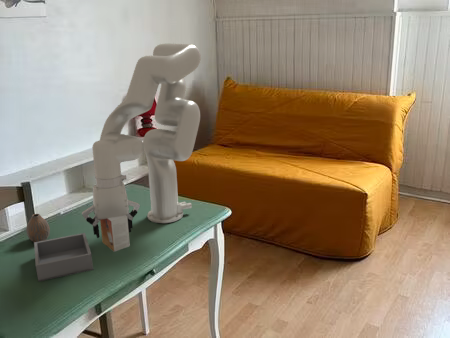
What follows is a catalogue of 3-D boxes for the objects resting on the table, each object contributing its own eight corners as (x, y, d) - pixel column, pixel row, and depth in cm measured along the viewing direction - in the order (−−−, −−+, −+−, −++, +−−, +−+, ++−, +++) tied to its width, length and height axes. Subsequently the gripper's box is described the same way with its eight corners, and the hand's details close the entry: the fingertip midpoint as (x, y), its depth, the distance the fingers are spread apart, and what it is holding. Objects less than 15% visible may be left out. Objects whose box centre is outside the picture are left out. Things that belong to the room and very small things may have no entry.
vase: (43, 245, 145) (39, 220, 142) (23, 244, 146) (19, 219, 143) (55, 235, 151) (51, 211, 148) (36, 234, 153) (32, 210, 150)
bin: (86, 247, 143) (84, 232, 142) (93, 269, 131) (91, 254, 129) (36, 257, 138) (34, 242, 136) (38, 281, 125) (35, 265, 124)
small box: (102, 243, 146) (98, 212, 142) (118, 237, 149) (115, 207, 146) (114, 252, 140) (110, 221, 136) (130, 246, 143) (127, 215, 140)
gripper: (134, 173, 144) (138, 223, 149) (77, 181, 138) (83, 233, 143) (140, 181, 137) (143, 233, 143) (80, 189, 131) (86, 243, 136)
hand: (113, 233), depth 143 cm, fingers open, 9 cm apart
